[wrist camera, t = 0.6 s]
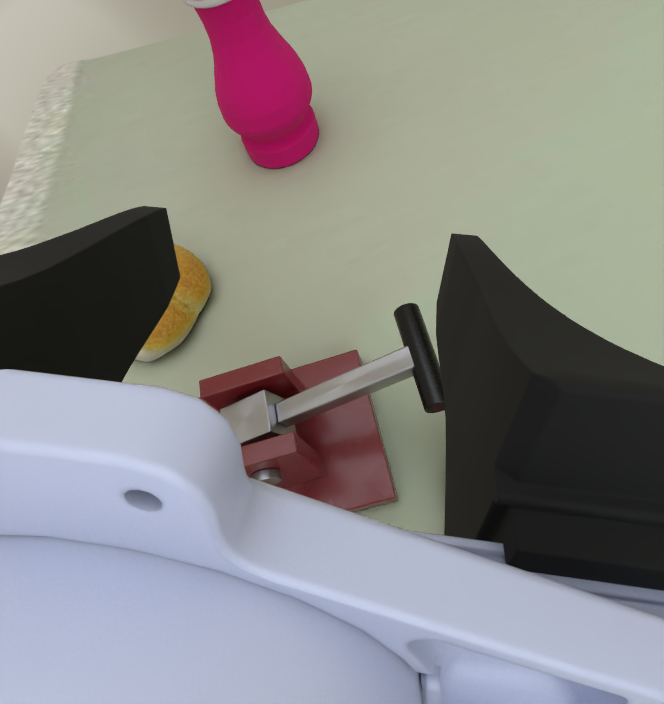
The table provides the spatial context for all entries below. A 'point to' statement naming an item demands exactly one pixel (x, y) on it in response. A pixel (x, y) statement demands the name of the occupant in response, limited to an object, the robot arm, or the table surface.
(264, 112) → the pepper mill
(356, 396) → the toaster lever
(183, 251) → the bread roll
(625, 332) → the table surface
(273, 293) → the table surface
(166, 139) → the table surface
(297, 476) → the red lever base
